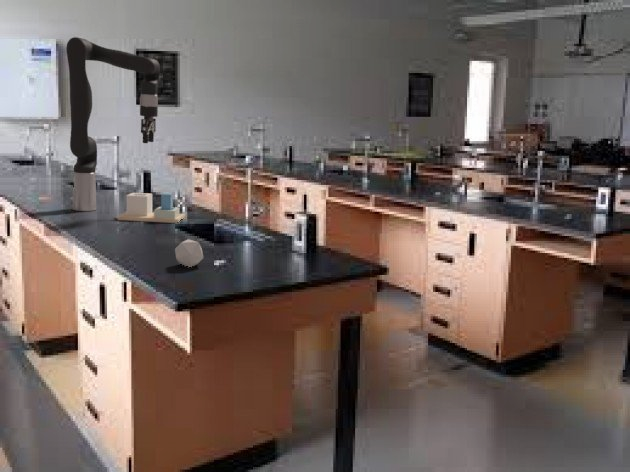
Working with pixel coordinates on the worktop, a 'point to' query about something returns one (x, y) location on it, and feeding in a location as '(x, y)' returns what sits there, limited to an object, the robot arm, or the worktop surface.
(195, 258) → the grey faceted polyhedron
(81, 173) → the robot arm
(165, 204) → the plug
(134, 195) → the stepped block tray
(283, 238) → the worktop surface
